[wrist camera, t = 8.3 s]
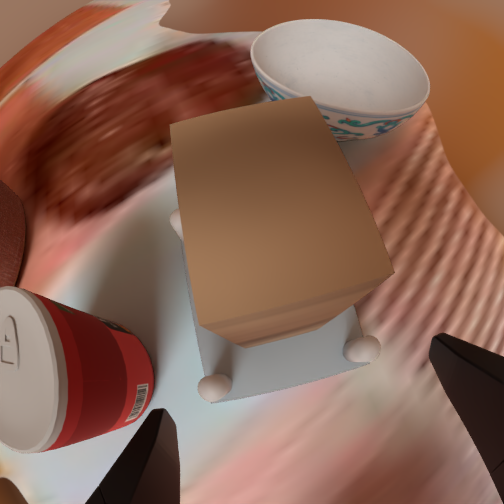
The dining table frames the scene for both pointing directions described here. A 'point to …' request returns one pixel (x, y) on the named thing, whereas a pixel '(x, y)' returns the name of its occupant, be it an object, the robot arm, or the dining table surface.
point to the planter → (10, 235)
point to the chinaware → (342, 74)
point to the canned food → (65, 374)
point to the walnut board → (272, 222)
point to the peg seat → (277, 354)
